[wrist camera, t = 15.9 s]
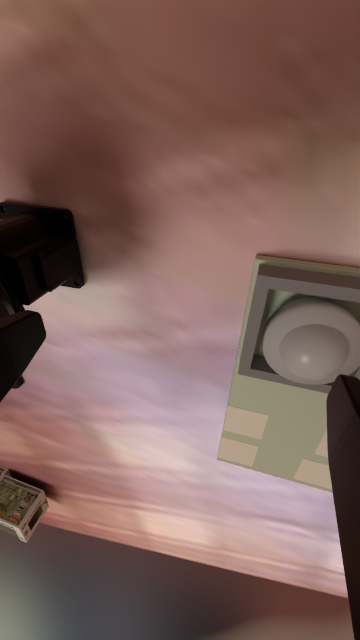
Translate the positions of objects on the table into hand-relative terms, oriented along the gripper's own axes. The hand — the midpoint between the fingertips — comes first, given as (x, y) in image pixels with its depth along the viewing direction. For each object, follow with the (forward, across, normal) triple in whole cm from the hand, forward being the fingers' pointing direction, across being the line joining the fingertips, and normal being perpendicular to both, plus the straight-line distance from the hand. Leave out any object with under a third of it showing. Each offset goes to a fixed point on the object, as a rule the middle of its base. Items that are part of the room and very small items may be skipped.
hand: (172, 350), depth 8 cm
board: (+13, -9, +14) cm, 21 cm away
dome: (+12, -6, +6) cm, 15 cm away
